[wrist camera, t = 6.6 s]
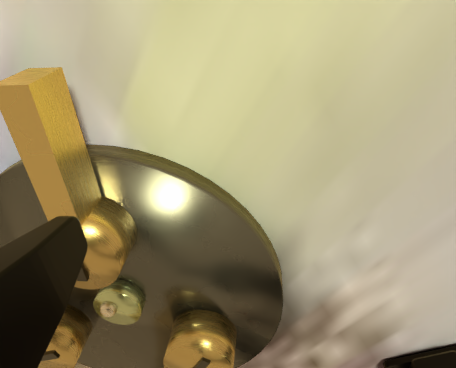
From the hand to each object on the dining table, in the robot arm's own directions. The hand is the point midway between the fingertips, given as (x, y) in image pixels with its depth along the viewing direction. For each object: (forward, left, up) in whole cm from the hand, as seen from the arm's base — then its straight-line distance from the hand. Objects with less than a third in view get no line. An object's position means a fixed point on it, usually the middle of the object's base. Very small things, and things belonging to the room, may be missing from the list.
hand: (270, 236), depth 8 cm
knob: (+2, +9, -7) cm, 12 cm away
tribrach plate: (-5, +13, -8) cm, 17 cm away
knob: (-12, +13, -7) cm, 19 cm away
